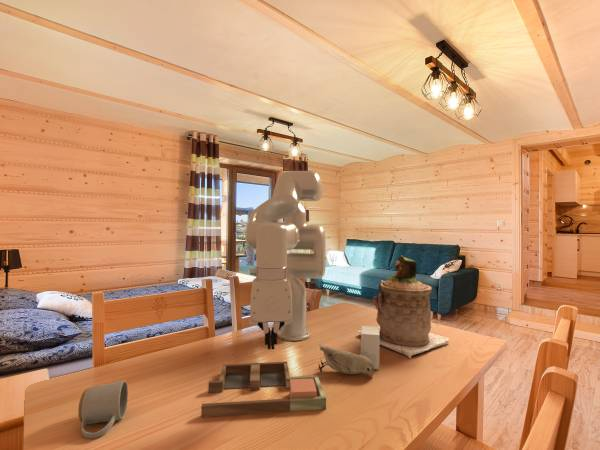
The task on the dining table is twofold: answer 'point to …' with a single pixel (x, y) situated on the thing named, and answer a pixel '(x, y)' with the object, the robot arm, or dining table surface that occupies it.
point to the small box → (370, 344)
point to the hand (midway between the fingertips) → (270, 347)
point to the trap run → (269, 377)
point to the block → (302, 388)
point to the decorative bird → (346, 361)
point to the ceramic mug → (102, 406)
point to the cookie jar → (405, 312)
